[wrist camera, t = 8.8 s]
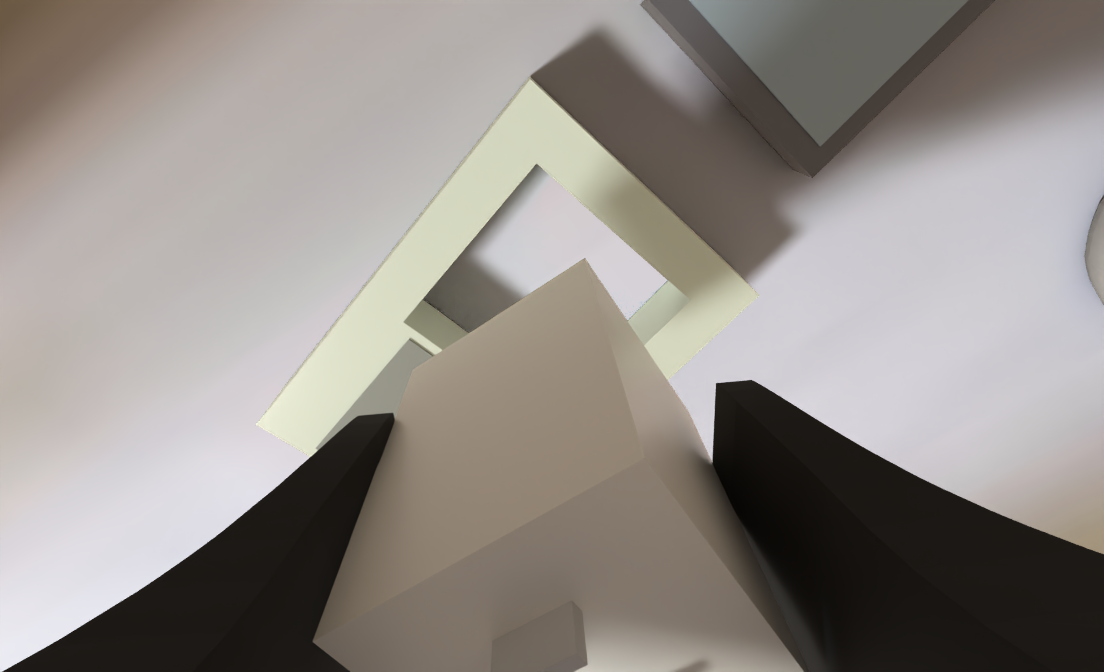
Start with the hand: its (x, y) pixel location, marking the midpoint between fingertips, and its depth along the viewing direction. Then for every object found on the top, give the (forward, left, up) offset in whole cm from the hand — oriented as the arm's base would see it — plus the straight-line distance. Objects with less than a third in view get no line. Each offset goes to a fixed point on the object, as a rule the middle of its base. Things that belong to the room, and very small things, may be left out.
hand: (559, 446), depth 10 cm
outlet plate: (0, -2, -8) cm, 8 cm away
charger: (0, 0, -2) cm, 2 cm away
